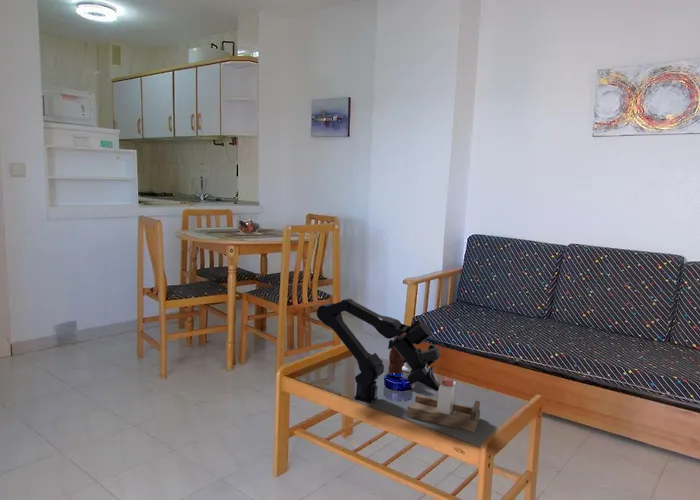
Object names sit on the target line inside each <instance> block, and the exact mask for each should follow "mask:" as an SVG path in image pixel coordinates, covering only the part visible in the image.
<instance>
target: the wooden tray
mask: <svg viewBox="0 0 700 500" xmlns="http://www.w3.org/2000/svg"><path fill="white" fill-rule="evenodd" d="M437 402H438V398H432V397H428V396H424V395H419V394H416V395H415V400H414V402H413V404H412V405H408V406H407V411H406V412H407V413H406V417H408V418H413V419H415V420H416V419H417V420H421V421H424V422H429V423H433V424H438V425H442V426H446V427H451V428H456V429H459V430H463V431H467V432H472V433H475V432H476V429H477V426H478V423H479V421H480V418H481V417H480V416H481V408H480V407H481V405H480V404H481V401H480V400H475V401H474V404H473V405H472V406H468V405H465V404H460V403H455V402H454V403H453V411H452V413H451V415H447V414H443V413H439V412H437Z"/></svg>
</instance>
